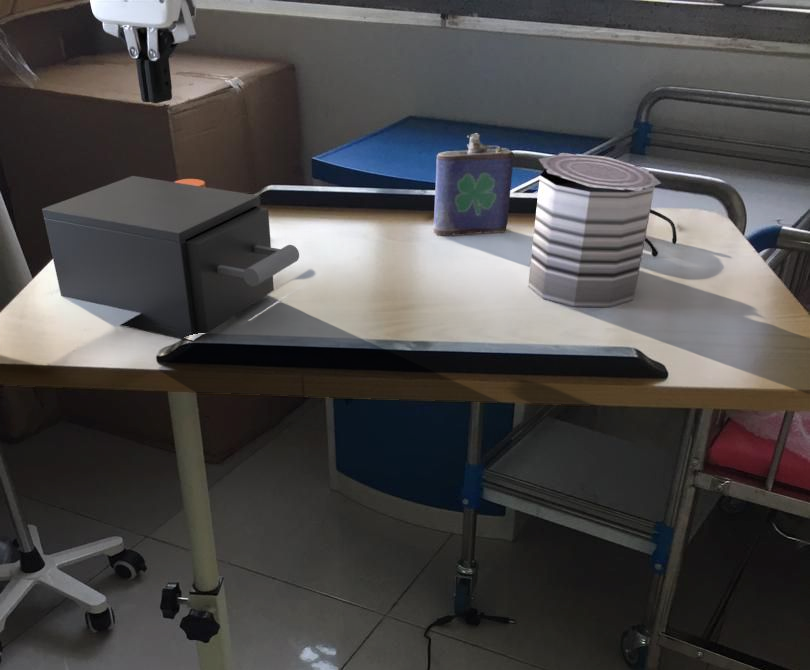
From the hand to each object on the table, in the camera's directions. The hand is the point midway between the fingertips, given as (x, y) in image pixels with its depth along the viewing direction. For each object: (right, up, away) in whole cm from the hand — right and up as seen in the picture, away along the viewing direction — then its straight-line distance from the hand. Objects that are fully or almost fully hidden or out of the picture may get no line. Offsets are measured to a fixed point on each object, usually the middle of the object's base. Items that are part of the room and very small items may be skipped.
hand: (157, 100), depth 94 cm
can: (+45, -21, -2) cm, 49 cm away
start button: (+2, -7, +8) cm, 11 cm away
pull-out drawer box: (+7, -24, -10) cm, 27 cm away
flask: (+34, -10, +12) cm, 38 cm away
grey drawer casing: (+3, -24, -8) cm, 25 cm away
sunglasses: (+52, -12, +10) cm, 54 cm away
